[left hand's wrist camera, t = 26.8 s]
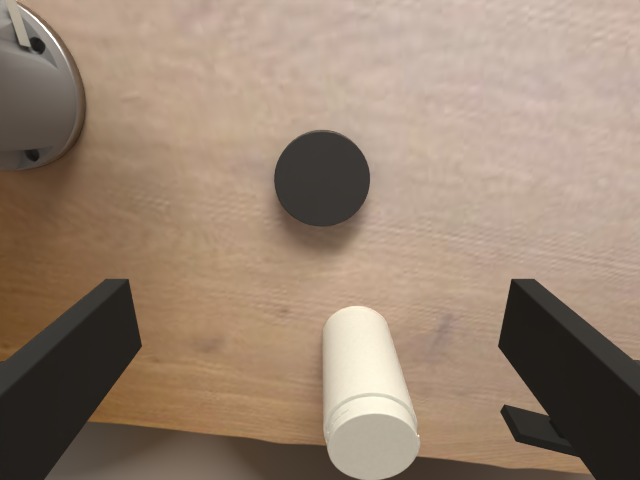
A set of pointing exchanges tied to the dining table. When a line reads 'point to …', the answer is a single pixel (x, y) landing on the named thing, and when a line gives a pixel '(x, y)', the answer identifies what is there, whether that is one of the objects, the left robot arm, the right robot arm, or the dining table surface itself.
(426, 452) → the dining table surface
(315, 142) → the lid
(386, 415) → the jar
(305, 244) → the dining table surface
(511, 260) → the dining table surface
